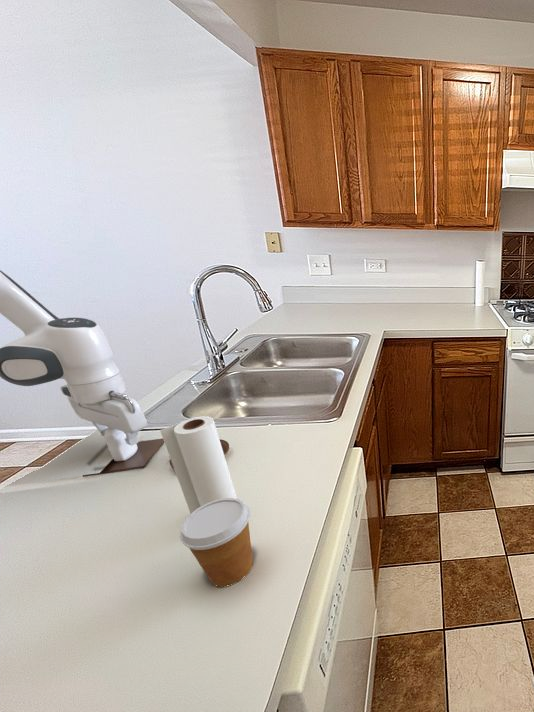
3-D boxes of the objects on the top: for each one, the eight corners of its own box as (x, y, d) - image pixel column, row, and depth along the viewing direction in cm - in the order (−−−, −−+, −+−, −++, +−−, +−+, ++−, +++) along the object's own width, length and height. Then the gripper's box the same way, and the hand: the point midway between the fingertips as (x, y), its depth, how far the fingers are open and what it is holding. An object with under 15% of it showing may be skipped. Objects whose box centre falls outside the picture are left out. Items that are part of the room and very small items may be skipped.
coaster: (82, 476, 90) (81, 474, 90) (112, 446, 101) (111, 444, 100) (144, 468, 93) (143, 466, 93) (167, 439, 104) (166, 437, 103)
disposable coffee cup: (190, 603, 62) (166, 547, 58) (209, 554, 71) (190, 502, 66) (256, 588, 65) (239, 533, 60) (268, 542, 73) (253, 491, 68)
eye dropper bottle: (145, 450, 98) (128, 408, 94) (119, 463, 93) (100, 420, 89) (133, 446, 100) (116, 405, 95) (107, 459, 95) (88, 416, 90)
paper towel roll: (247, 507, 81) (221, 417, 73) (222, 529, 76) (191, 435, 68) (219, 500, 83) (191, 412, 75) (193, 521, 78) (159, 428, 70)
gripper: (144, 389, 89) (163, 441, 94) (88, 375, 95) (109, 424, 101) (112, 402, 83) (134, 456, 89) (55, 386, 90) (79, 438, 95)
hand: (120, 439), depth 95 cm, fingers open, 8 cm apart
